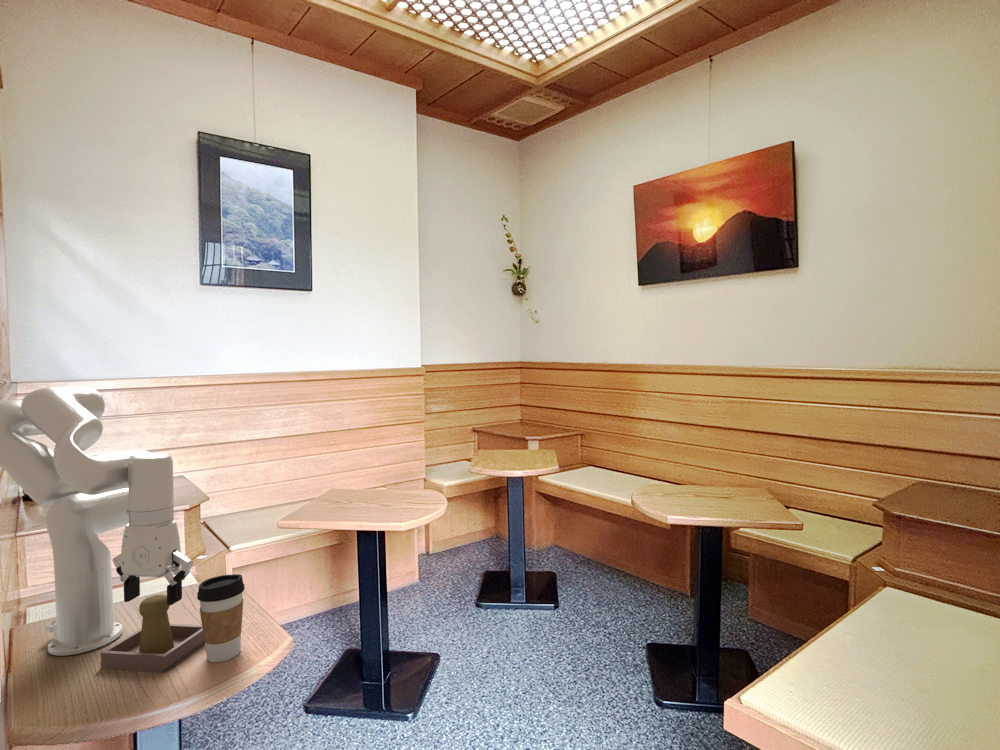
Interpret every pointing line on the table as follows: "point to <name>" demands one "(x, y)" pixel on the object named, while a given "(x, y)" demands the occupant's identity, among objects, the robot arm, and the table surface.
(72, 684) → the table surface
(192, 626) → the lacquer tray
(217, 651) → the coffee cup
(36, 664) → the table surface
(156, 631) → the tan tall rounded piece
